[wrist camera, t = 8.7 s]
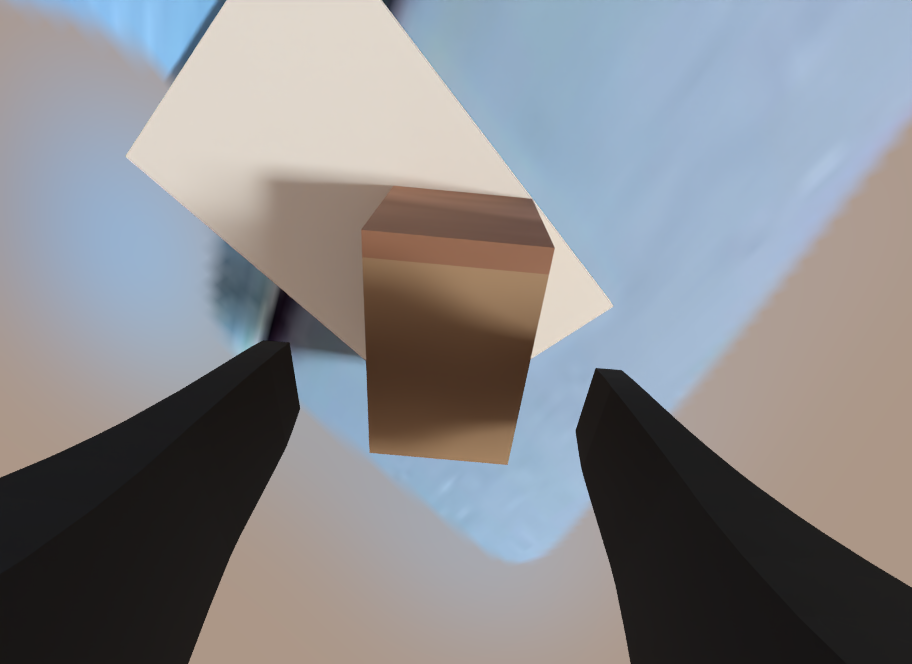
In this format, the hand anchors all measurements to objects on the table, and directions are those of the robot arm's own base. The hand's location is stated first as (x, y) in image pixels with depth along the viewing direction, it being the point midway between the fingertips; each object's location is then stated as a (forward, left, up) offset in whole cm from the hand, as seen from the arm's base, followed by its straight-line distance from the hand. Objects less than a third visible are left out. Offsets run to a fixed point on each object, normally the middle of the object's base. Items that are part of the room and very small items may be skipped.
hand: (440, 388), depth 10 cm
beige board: (-3, 0, -5) cm, 6 cm away
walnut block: (0, 0, -5) cm, 5 cm away
